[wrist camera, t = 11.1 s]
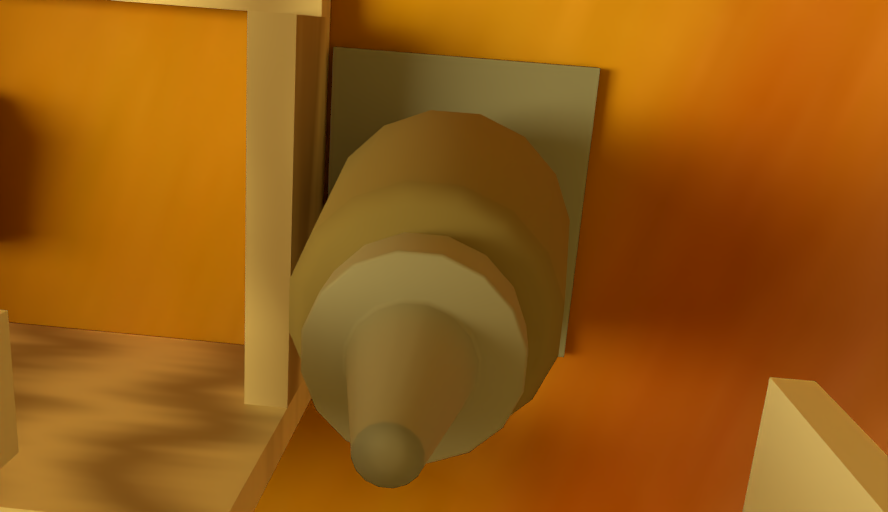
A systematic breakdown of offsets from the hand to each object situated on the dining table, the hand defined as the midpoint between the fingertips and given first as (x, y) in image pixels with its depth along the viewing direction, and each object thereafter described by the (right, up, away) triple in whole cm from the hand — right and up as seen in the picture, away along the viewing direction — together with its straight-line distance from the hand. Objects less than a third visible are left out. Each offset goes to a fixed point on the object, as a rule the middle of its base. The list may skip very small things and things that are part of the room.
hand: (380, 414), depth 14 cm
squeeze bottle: (+1, +5, +16) cm, 17 cm away
